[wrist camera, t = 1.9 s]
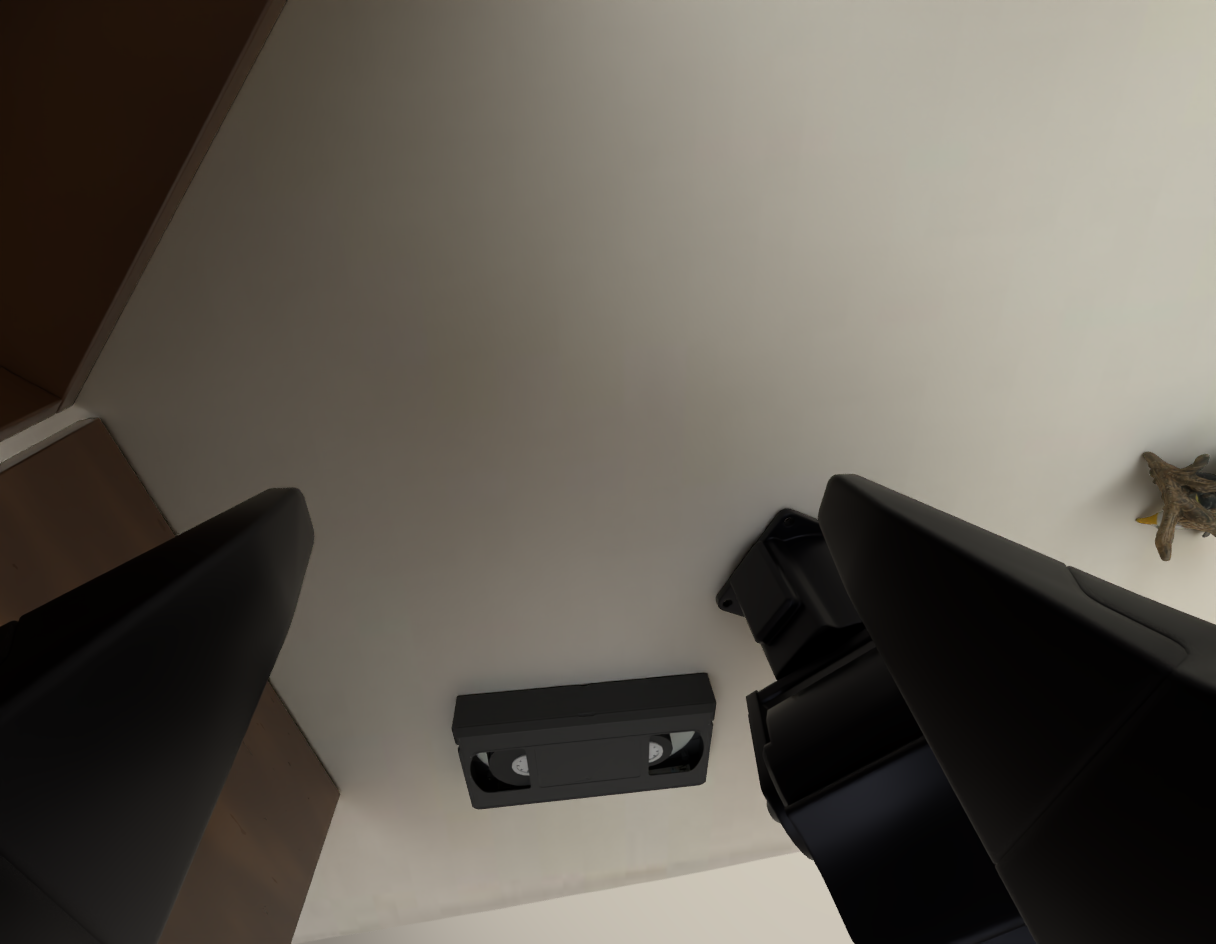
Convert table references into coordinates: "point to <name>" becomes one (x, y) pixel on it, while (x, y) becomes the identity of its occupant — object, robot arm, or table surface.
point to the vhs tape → (584, 740)
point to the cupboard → (99, 166)
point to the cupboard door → (273, 745)
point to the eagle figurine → (1182, 500)
